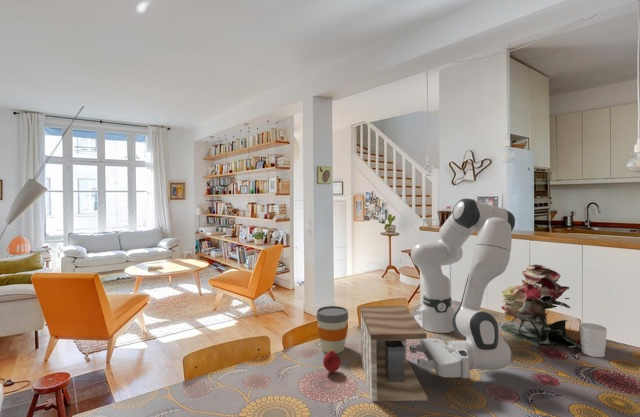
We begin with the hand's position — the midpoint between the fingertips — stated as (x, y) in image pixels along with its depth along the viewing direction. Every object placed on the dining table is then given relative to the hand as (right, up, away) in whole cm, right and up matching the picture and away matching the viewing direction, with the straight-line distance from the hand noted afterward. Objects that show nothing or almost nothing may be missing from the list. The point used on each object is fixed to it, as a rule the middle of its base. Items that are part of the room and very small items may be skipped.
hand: (413, 355), depth 110 cm
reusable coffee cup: (-25, -8, +25) cm, 36 cm away
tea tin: (-6, -7, 0) cm, 9 cm away
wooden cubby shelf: (-7, -8, +2) cm, 11 cm away
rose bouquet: (+61, -6, +35) cm, 71 cm away
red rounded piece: (-26, -8, +6) cm, 28 cm away
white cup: (+71, -7, +17) cm, 73 cm away
